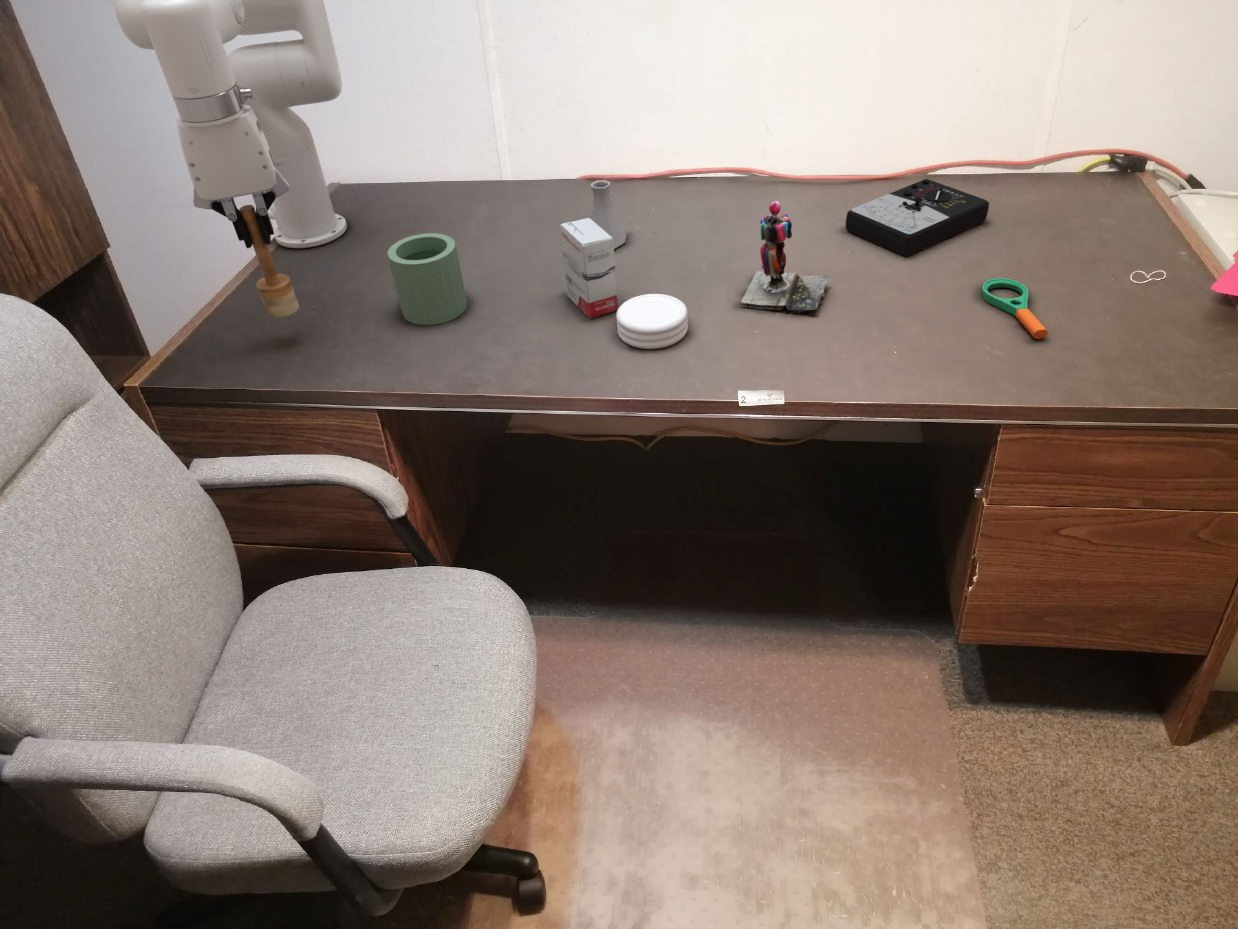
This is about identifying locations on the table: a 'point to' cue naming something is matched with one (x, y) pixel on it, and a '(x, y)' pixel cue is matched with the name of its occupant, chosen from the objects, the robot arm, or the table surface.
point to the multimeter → (916, 216)
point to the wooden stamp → (269, 273)
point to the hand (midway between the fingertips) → (258, 241)
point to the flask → (606, 212)
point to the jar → (428, 278)
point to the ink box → (589, 267)
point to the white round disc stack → (652, 321)
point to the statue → (781, 272)
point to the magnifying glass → (1014, 304)
